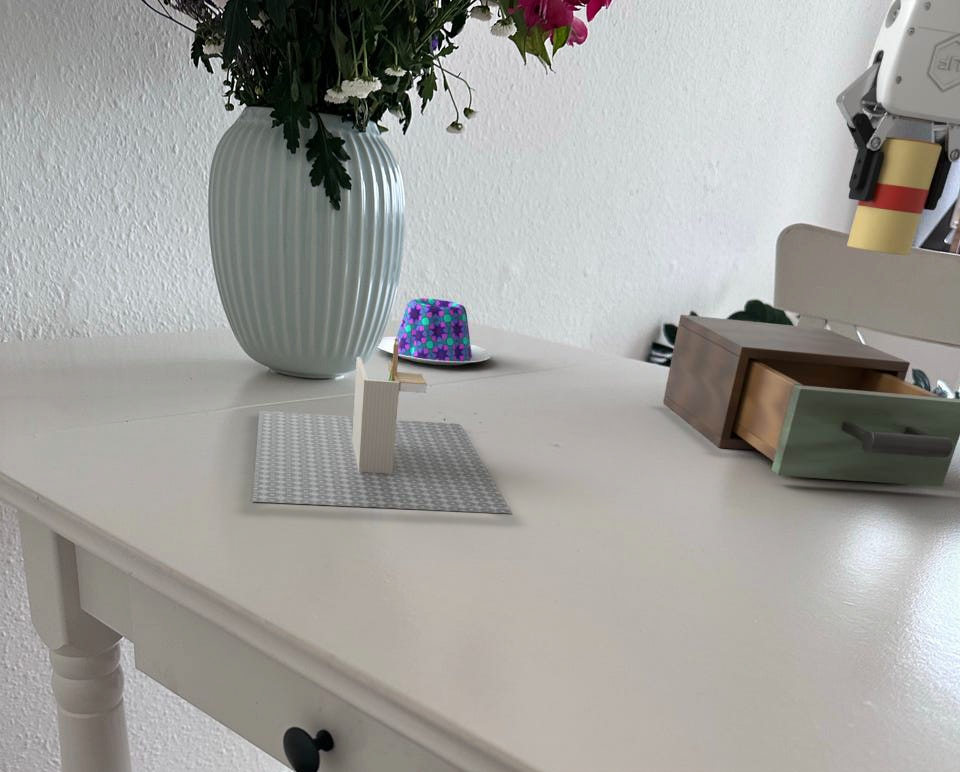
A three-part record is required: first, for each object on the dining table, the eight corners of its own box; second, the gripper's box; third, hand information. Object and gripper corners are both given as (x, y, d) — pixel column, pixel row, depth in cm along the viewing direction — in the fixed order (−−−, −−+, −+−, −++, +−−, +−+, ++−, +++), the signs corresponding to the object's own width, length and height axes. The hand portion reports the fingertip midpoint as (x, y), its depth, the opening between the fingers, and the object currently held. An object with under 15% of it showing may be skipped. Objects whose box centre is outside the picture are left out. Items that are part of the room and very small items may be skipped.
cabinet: (880, 459, 81) (910, 362, 78) (718, 447, 79) (741, 346, 75) (804, 414, 94) (827, 328, 90) (662, 402, 91) (680, 314, 88)
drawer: (980, 508, 68) (1012, 420, 65) (806, 497, 66) (832, 405, 63) (854, 435, 84) (876, 363, 81) (711, 425, 82) (728, 349, 79)
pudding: (436, 341, 106) (441, 291, 104) (514, 365, 99) (521, 312, 97) (350, 346, 98) (352, 292, 96) (428, 373, 91) (433, 316, 89)
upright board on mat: (407, 444, 69) (416, 330, 66) (419, 474, 63) (430, 351, 60) (352, 441, 69) (358, 325, 65) (358, 471, 63) (366, 345, 59)
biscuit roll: (888, 250, 93) (920, 144, 89) (921, 257, 88) (956, 145, 84) (835, 243, 92) (864, 135, 88) (865, 250, 87) (897, 136, 83)
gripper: (890, -58, 75) (824, 195, 83) (1080, -21, 78) (999, 219, 86) (843, -44, 81) (786, 190, 90) (1021, -10, 85) (950, 212, 93)
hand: (891, 202), depth 88 cm, fingers closed on biscuit roll, 5 cm apart
